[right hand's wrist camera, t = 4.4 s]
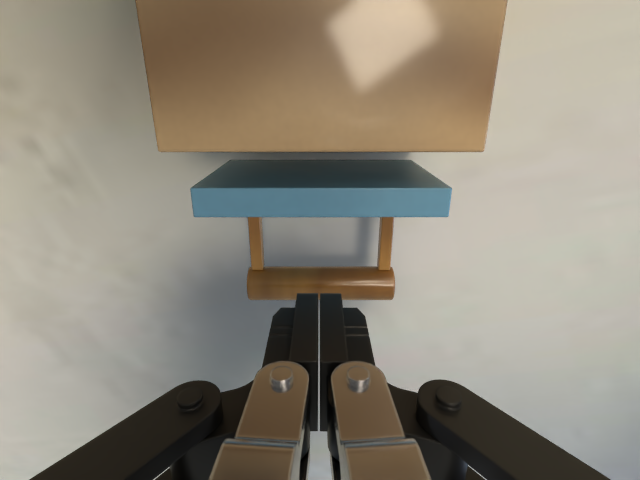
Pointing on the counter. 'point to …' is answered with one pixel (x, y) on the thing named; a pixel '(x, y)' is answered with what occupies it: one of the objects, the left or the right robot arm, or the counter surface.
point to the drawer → (321, 215)
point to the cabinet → (321, 74)
